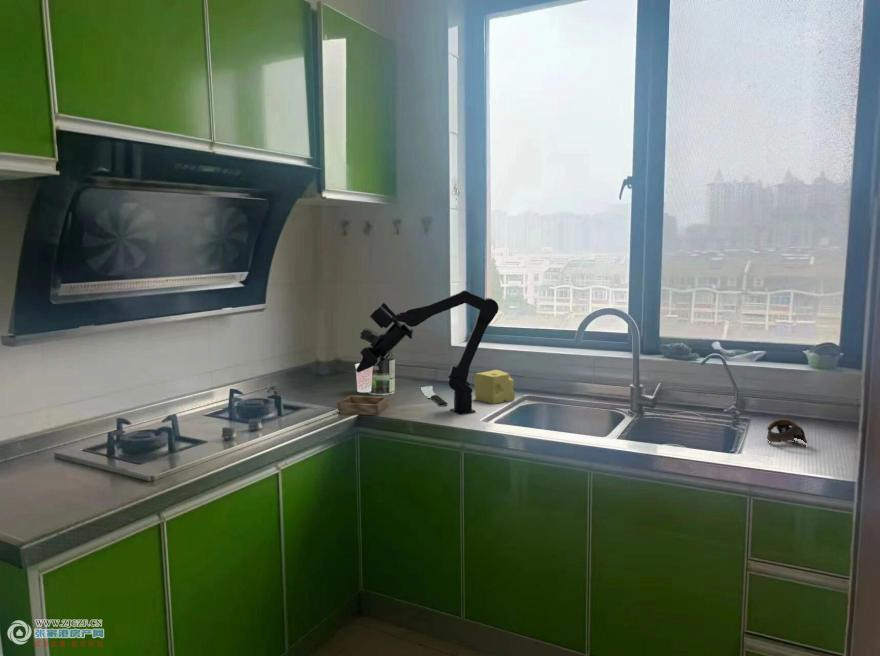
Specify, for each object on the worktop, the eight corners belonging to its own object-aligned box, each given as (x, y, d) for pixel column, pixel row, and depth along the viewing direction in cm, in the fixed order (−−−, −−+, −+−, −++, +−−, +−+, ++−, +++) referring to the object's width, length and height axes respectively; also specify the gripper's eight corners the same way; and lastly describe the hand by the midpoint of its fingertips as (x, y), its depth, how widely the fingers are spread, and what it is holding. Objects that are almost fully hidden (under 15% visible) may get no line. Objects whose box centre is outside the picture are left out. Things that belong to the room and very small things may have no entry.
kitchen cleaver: (406, 387, 249) (431, 383, 251) (406, 392, 249) (431, 387, 251) (423, 406, 219) (451, 401, 221) (423, 411, 219) (452, 406, 221)
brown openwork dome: (815, 452, 172) (804, 428, 170) (779, 464, 175) (767, 440, 173) (800, 430, 183) (789, 406, 181) (766, 441, 186) (755, 418, 184)
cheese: (514, 400, 230) (515, 373, 228) (492, 404, 223) (492, 376, 222) (495, 395, 238) (495, 369, 237) (473, 399, 231) (473, 372, 230)
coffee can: (378, 396, 235) (378, 358, 233) (362, 392, 242) (362, 355, 241) (400, 393, 241) (400, 356, 240) (384, 388, 249) (384, 352, 248)
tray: (388, 406, 219) (388, 397, 219) (378, 415, 207) (378, 405, 207) (349, 404, 222) (349, 395, 222) (337, 412, 210) (337, 403, 210)
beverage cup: (364, 388, 218) (364, 347, 217) (377, 390, 214) (377, 349, 213) (351, 391, 213) (350, 349, 212) (364, 393, 209) (363, 351, 208)
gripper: (383, 317, 220) (352, 348, 223) (366, 323, 201) (333, 356, 205) (405, 341, 219) (374, 371, 222) (390, 348, 201) (357, 381, 204)
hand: (360, 369), depth 213 cm, fingers closed on beverage cup, 6 cm apart
